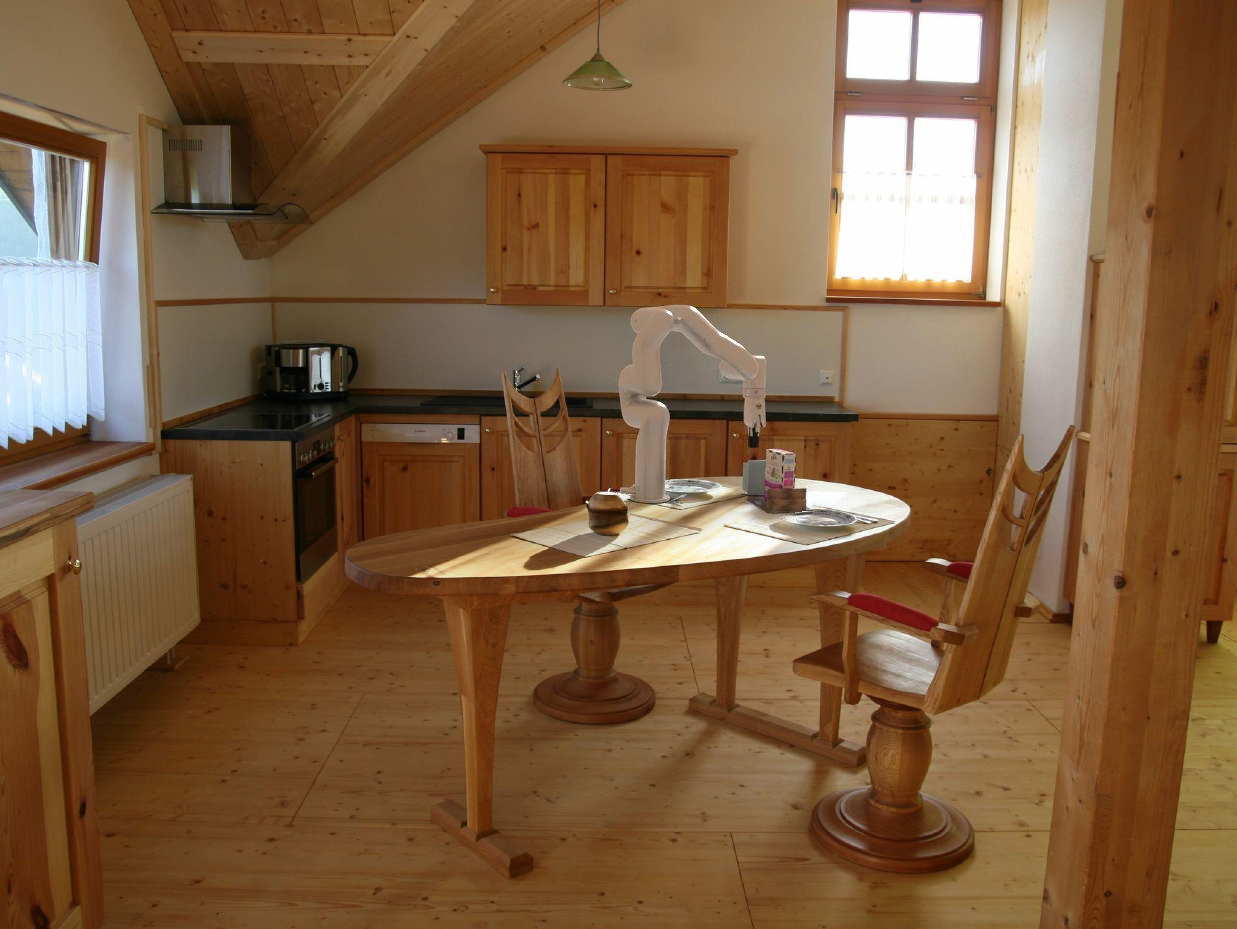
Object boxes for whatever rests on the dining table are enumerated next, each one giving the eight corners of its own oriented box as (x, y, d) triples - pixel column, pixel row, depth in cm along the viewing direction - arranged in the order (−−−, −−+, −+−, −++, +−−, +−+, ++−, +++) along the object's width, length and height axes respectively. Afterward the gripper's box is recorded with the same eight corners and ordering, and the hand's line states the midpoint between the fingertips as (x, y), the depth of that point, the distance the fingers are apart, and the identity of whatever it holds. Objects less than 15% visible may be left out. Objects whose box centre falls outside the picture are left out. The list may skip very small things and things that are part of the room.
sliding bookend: (747, 494, 345) (748, 461, 343) (739, 489, 354) (740, 456, 352) (783, 494, 347) (784, 460, 345) (774, 488, 356) (775, 456, 354)
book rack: (768, 513, 321) (769, 491, 320) (746, 499, 343) (747, 478, 342) (812, 512, 324) (813, 490, 323) (788, 498, 345) (789, 477, 344)
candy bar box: (795, 506, 330) (797, 453, 327) (780, 506, 328) (782, 454, 325) (777, 499, 340) (779, 448, 337) (763, 500, 338) (765, 448, 335)
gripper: (772, 395, 350) (771, 450, 353) (758, 390, 364) (757, 443, 367) (750, 395, 348) (749, 451, 352) (736, 391, 363) (736, 444, 366)
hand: (753, 447), depth 360 cm, fingers closed
